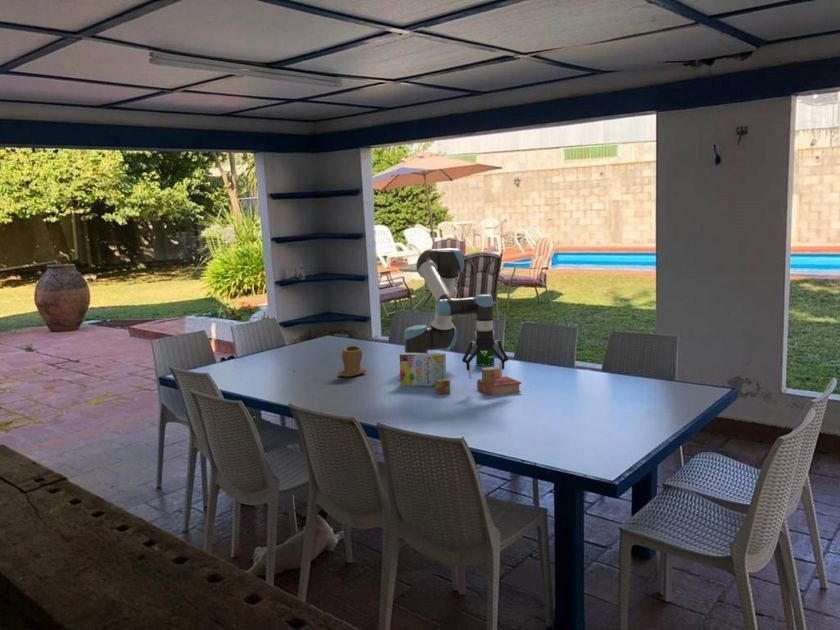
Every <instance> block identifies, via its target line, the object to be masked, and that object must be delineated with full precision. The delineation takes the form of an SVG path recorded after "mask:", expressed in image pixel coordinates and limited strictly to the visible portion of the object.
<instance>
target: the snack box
mask: <svg viewBox="0 0 840 630" xmlns="http://www.w3.org/2000/svg"><path fill="white" fill-rule="evenodd" d="M446 366H447V361H446V352H444V353H443V352H442V353H441V352H428V353H405V352H402V353H400V354H399V372H400V373H399V376H400V378H399V379H400V386H409V387H410V386H412V387H413V386H414V387H415V386H416V387H417V386H418V387H436V379H447V371H446V370H447V367H446Z"/></svg>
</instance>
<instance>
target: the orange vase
mask: <svg viewBox="0 0 840 630" xmlns="http://www.w3.org/2000/svg"><path fill="white" fill-rule="evenodd" d="M362 358H363V349H362V347H360V346H358V345H348V346H346V347H344V348H343V349H342V352H341V360H342V363H343V367H344V369H343V370H340V371H338V372H337V375H338V376H341V377H345V378H346V377H349V378H350V377H353V376H359V375H361V374H364V373H366V372H368V371H367V369H366V368H365V367H364V366H363V365H361V362H362V361H361V360H362Z"/></svg>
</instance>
